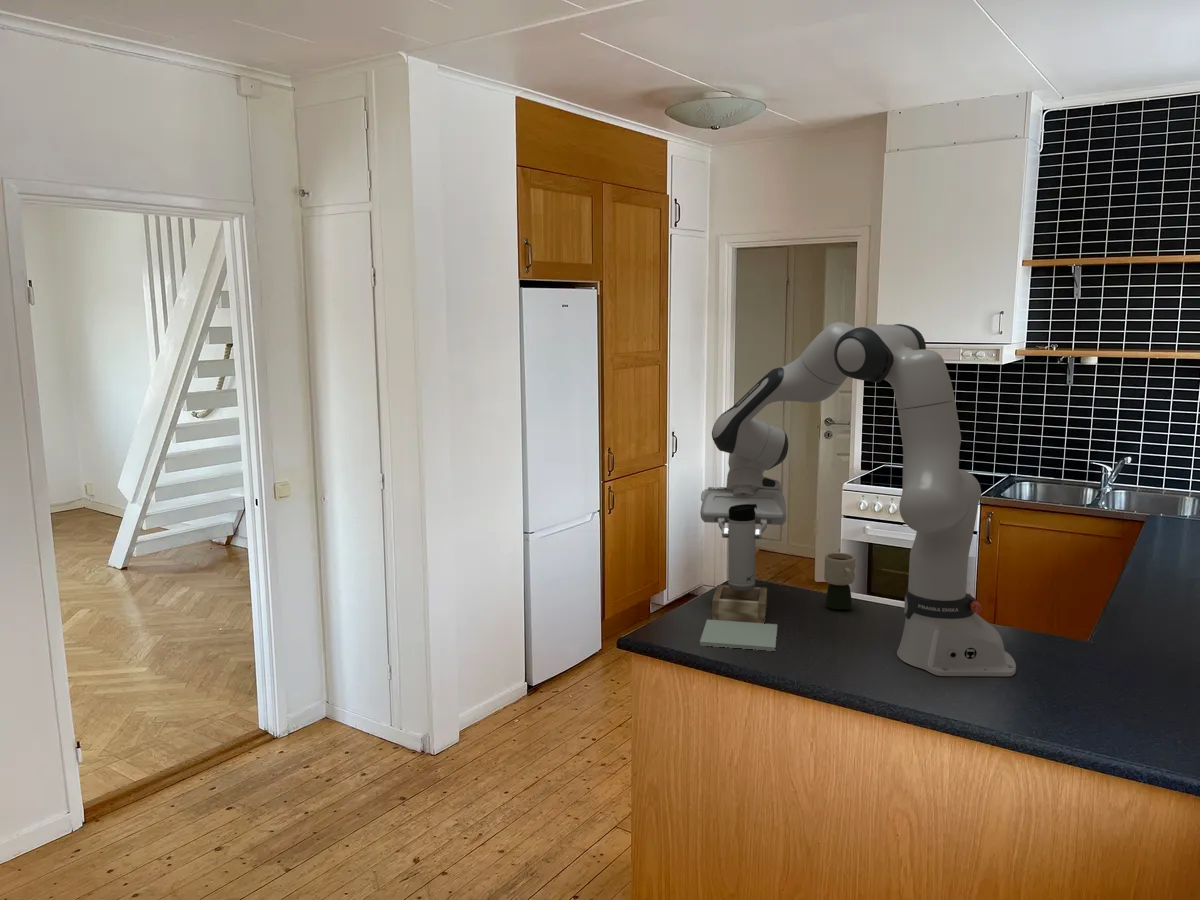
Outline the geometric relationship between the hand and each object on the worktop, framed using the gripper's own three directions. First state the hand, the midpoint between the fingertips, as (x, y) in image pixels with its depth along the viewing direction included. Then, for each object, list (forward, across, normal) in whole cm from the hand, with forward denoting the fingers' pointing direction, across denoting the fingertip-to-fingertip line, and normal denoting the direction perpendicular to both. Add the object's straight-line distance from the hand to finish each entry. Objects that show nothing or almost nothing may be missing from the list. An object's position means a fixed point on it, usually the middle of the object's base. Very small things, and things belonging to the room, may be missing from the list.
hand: (741, 537), depth 204 cm
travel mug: (+8, 0, +9) cm, 13 cm away
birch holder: (+13, 0, +14) cm, 19 cm away
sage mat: (+24, +1, +4) cm, 24 cm away
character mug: (+7, +23, +21) cm, 31 cm away
